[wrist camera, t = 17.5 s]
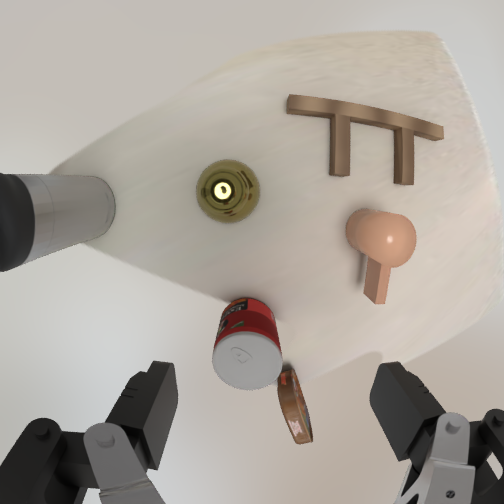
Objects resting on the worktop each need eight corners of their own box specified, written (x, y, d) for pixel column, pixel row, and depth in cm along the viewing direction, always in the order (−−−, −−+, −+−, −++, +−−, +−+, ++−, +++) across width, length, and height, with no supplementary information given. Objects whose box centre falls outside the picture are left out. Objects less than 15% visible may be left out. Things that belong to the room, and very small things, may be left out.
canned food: (239, 286, 38) (235, 321, 27) (286, 314, 39) (297, 356, 28) (210, 326, 40) (198, 370, 29) (256, 352, 40) (258, 399, 30)
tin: (310, 417, 44) (318, 450, 36) (293, 422, 44) (299, 455, 36) (291, 358, 41) (298, 392, 33) (271, 363, 41) (275, 398, 33)
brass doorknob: (215, 228, 37) (202, 241, 27) (193, 177, 35) (173, 171, 25) (267, 207, 36) (273, 212, 26) (245, 154, 35) (243, 140, 25)
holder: (284, 171, 35) (287, 169, 33) (286, 100, 33) (289, 94, 31) (434, 190, 35) (444, 190, 33) (434, 129, 33) (443, 126, 31)
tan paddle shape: (347, 207, 36) (374, 212, 27) (385, 210, 36) (418, 216, 27) (340, 285, 38) (362, 309, 29) (376, 284, 38) (405, 307, 30)
